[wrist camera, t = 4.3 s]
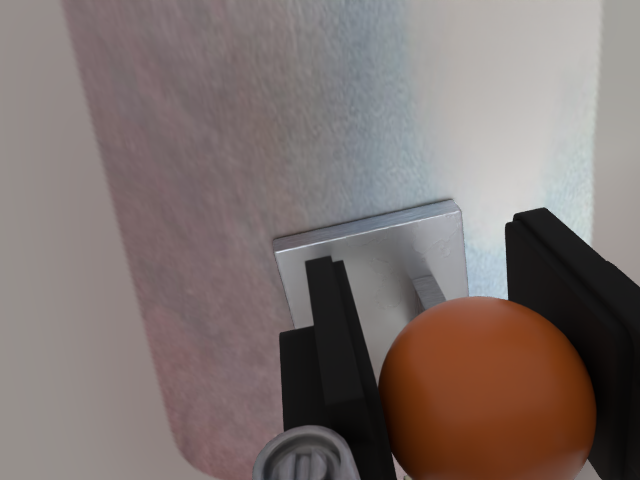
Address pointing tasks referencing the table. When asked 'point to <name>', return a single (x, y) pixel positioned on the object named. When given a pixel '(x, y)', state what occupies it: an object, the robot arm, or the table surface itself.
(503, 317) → the lever
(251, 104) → the table surface
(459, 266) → the bracket
